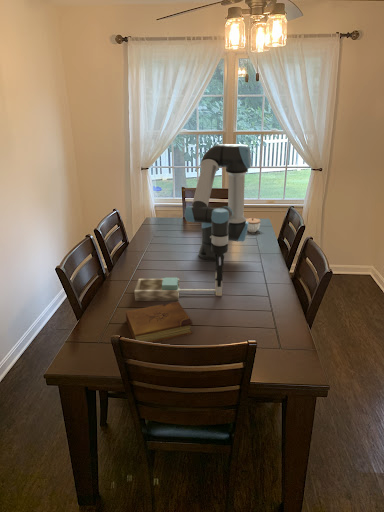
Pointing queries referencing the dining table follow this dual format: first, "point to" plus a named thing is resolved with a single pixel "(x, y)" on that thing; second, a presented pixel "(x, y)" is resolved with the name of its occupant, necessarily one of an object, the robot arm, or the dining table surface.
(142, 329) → the diary
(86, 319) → the dining table surface
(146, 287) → the lane
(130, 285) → the dining table surface
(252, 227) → the lidded jar
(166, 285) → the block sled
